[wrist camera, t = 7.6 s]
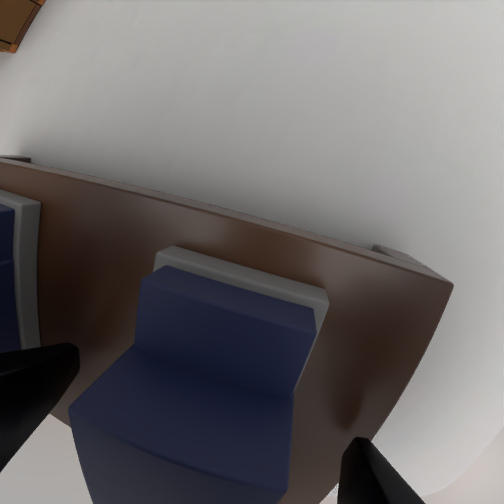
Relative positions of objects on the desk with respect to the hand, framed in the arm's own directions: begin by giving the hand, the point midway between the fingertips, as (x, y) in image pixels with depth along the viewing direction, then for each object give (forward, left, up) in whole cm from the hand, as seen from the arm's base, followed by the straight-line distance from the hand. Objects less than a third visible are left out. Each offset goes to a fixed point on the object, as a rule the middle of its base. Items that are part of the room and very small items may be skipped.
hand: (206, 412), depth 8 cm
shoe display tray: (+3, +4, -5) cm, 6 cm away
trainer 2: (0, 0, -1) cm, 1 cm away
